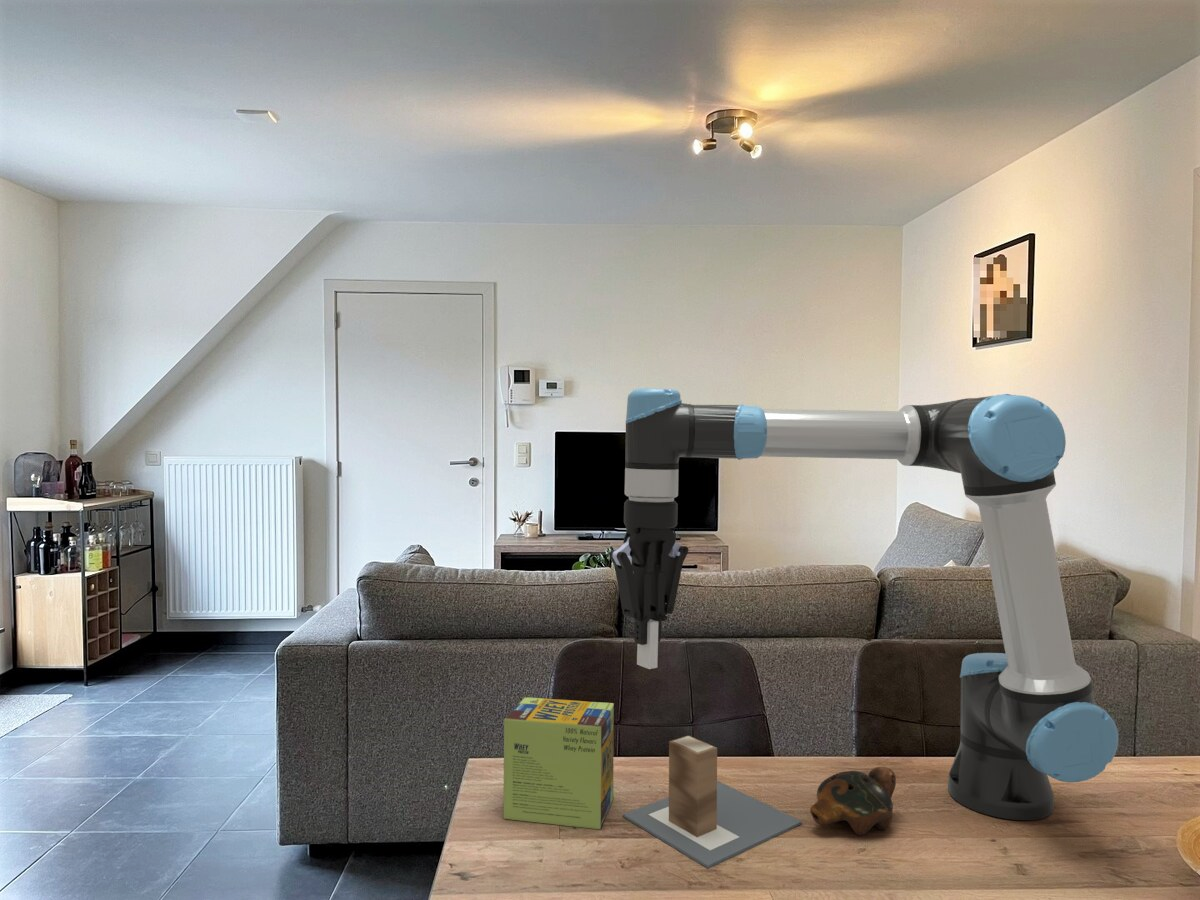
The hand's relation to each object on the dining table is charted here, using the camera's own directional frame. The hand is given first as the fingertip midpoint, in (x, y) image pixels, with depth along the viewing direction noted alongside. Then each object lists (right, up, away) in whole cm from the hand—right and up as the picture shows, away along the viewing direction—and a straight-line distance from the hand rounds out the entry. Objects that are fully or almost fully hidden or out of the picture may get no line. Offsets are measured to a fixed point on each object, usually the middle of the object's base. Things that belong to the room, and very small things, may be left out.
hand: (647, 665), depth 111 cm
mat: (+10, -26, +8) cm, 29 cm away
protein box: (-13, -26, +12) cm, 31 cm away
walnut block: (+7, -25, +6) cm, 27 cm away
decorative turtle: (+31, -26, +7) cm, 41 cm away
